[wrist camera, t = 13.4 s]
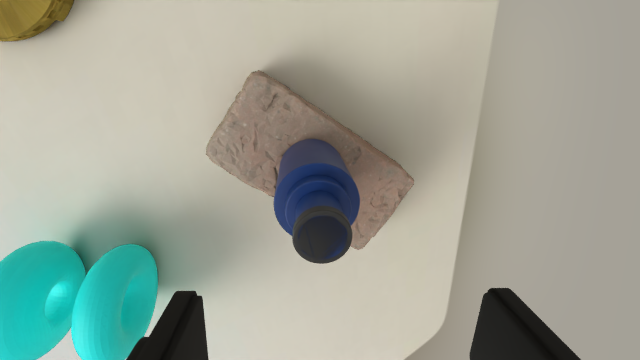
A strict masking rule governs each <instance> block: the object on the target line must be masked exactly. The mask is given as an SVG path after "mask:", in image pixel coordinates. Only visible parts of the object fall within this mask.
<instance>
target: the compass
mask: <svg viewBox="0 0 640 360" xmlns="http://www.w3.org/2000/svg"><path fill="white" fill-rule="evenodd" d="M73 2H74V0H0V41H18V40H24V39H27V38H30V37H33V36H35V35H37V34H39V33H41V32H43V31H44V30H46V29H47V28H48V27H50V25H51V24H52V23H53V22H54V21H55V20H58V21H64V19H65V18H66V16H67V15H68V13H69V11H70V9H71V7H72V5H73Z"/></svg>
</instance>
